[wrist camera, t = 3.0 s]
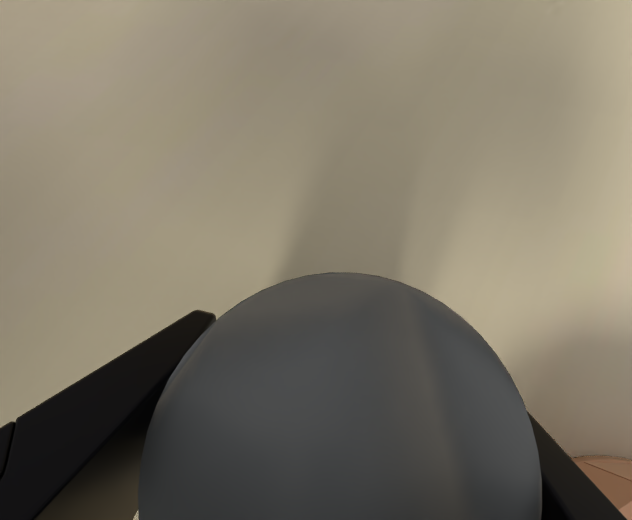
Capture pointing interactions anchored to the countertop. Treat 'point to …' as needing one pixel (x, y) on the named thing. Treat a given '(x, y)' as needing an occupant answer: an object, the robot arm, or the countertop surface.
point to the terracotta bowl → (610, 479)
